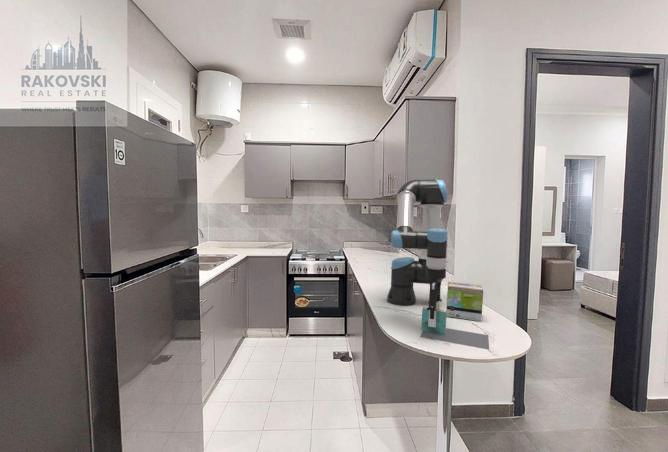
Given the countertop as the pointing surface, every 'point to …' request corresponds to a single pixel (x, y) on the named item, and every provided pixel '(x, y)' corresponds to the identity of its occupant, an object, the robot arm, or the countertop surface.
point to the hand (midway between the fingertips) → (433, 321)
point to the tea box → (464, 301)
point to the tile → (440, 321)
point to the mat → (460, 338)
